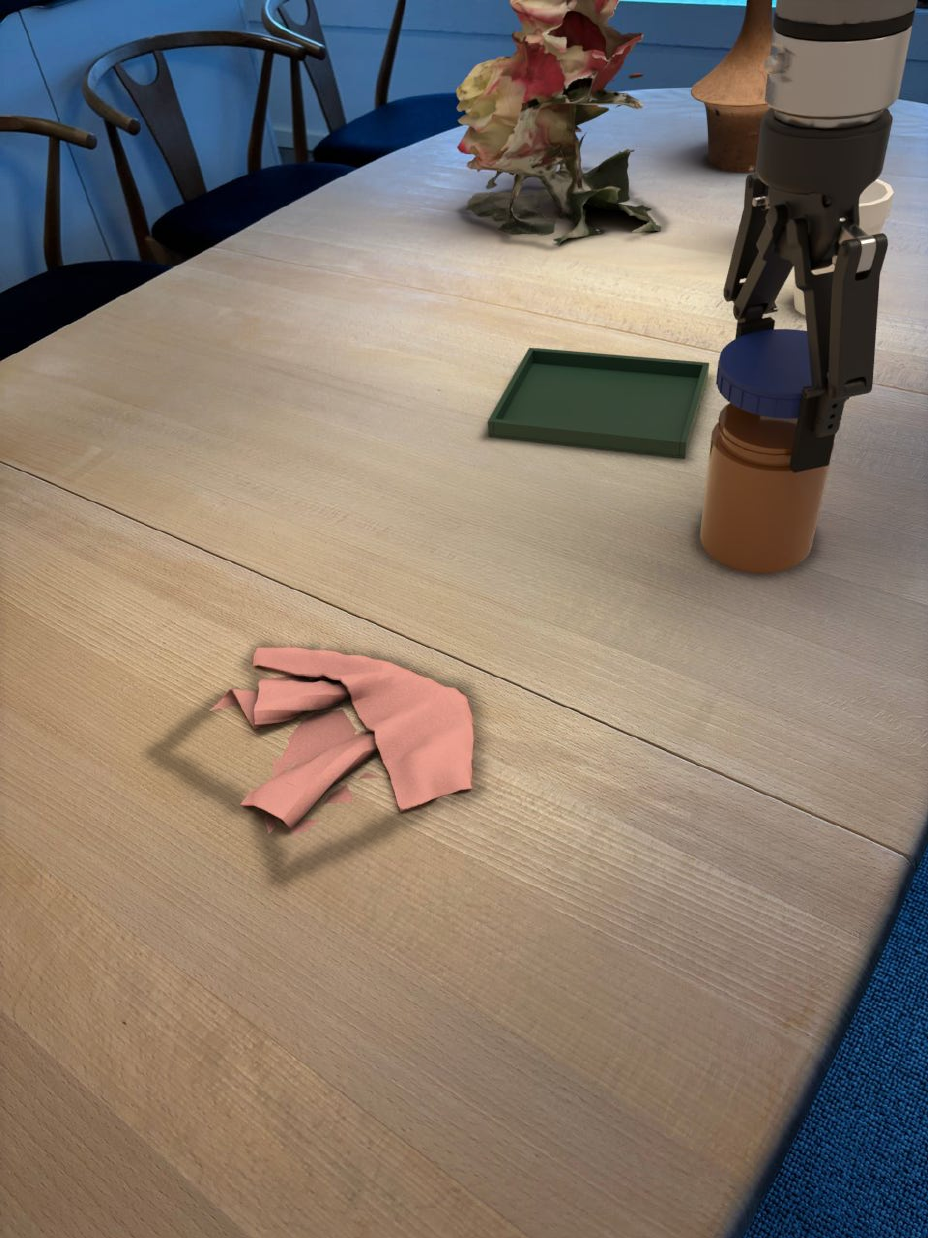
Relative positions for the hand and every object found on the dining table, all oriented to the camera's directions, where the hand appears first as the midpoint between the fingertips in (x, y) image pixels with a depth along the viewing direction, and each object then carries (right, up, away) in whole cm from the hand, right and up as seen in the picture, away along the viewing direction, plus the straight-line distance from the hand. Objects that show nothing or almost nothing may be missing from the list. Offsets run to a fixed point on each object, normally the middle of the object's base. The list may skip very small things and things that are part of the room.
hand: (775, 430), depth 72 cm
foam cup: (+17, +21, +36) cm, 45 cm away
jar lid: (0, +4, -4) cm, 5 cm away
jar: (+1, -8, +7) cm, 11 cm away
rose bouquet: (-11, +43, +63) cm, 77 cm away
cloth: (-34, -23, -5) cm, 41 cm away
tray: (-10, +7, +24) cm, 27 cm away
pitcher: (+19, +55, +72) cm, 93 cm away
